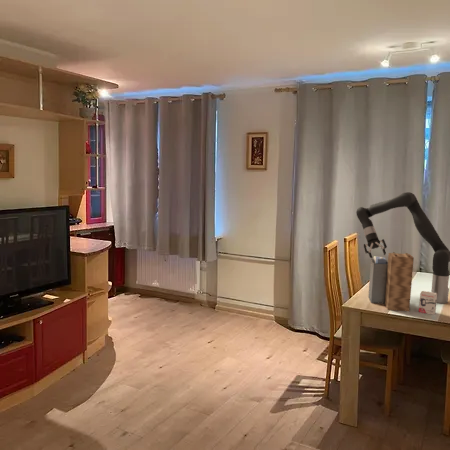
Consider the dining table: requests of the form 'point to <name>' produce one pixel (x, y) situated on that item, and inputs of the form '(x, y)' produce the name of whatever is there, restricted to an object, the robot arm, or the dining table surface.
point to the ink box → (427, 302)
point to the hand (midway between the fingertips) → (378, 256)
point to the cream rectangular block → (380, 260)
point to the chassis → (378, 282)
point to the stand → (399, 281)
